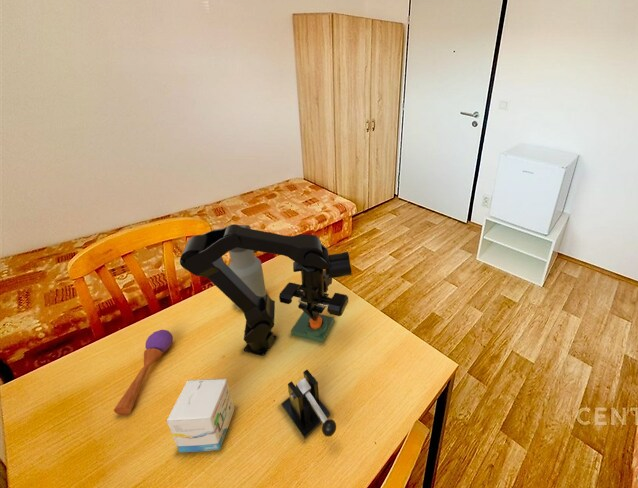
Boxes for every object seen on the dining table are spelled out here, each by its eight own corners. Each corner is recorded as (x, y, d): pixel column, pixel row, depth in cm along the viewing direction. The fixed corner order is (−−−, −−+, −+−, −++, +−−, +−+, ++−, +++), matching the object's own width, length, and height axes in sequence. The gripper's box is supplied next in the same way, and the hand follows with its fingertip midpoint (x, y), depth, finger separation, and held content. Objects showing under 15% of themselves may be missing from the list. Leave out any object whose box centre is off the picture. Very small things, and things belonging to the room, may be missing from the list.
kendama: (100, 407, 70) (148, 327, 87) (116, 419, 73) (159, 340, 90) (128, 401, 71) (170, 323, 88) (143, 413, 74) (180, 336, 91)
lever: (338, 430, 69) (340, 426, 67) (326, 442, 66) (328, 437, 65) (305, 381, 74) (306, 375, 73) (293, 390, 72) (294, 384, 71)
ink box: (220, 450, 68) (210, 419, 63) (178, 453, 67) (164, 421, 62) (235, 408, 75) (227, 377, 70) (198, 410, 75) (186, 378, 69)
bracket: (330, 416, 75) (328, 387, 71) (304, 440, 71) (301, 411, 66) (307, 386, 81) (304, 358, 76) (281, 406, 76) (277, 378, 72)
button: (307, 327, 93) (307, 323, 92) (313, 318, 96) (312, 314, 95) (318, 330, 92) (318, 326, 91) (324, 320, 95) (324, 316, 95)
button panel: (291, 336, 94) (290, 327, 92) (304, 315, 101) (304, 306, 99) (322, 344, 92) (322, 335, 90) (334, 322, 100) (333, 313, 98)
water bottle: (241, 288, 109) (226, 220, 97) (270, 288, 111) (260, 220, 98) (229, 312, 100) (212, 239, 88) (262, 311, 102) (249, 239, 89)
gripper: (355, 266, 92) (354, 306, 99) (296, 254, 95) (300, 293, 102) (340, 294, 82) (341, 335, 89) (275, 279, 85) (281, 320, 92)
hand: (315, 319), depth 93 cm, fingers closed
